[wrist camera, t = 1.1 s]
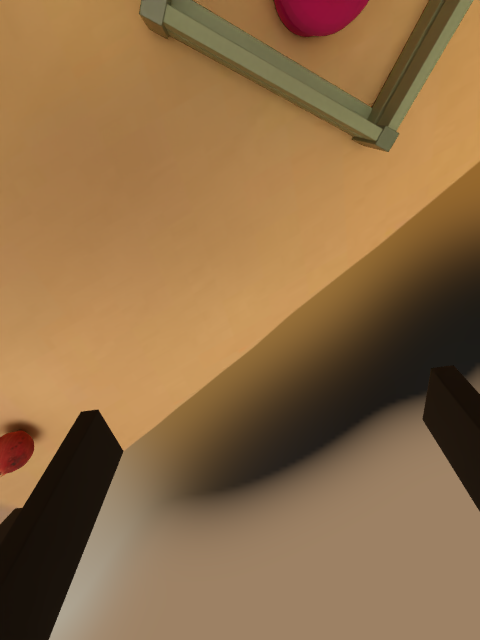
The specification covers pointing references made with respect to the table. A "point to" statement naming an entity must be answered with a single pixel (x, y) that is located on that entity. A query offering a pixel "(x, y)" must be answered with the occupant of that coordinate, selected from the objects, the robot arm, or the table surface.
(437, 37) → the crate
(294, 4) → the pepper mill
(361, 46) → the table surface
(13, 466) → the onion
